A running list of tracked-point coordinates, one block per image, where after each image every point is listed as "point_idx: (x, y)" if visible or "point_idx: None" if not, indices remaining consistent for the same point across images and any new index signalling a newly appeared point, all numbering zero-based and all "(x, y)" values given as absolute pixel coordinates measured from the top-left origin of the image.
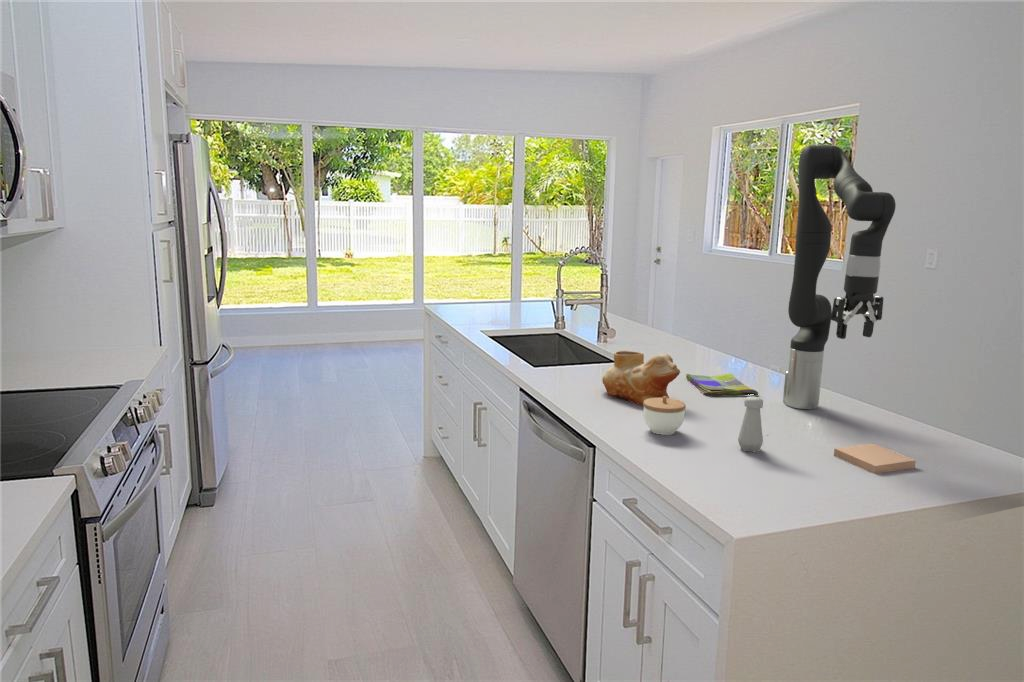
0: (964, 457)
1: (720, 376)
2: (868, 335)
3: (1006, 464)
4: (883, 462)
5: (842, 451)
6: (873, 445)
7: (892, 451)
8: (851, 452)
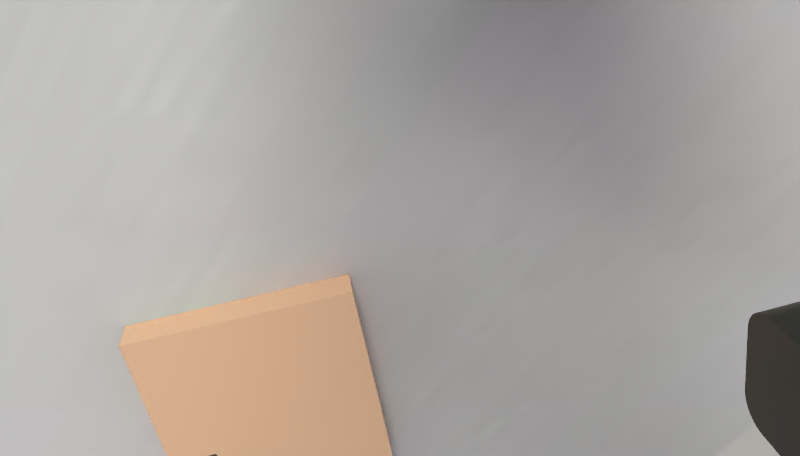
0: (665, 351)
1: None
2: (764, 415)
3: (742, 411)
4: None
5: (137, 381)
6: (333, 317)
7: (368, 382)
8: (174, 392)
